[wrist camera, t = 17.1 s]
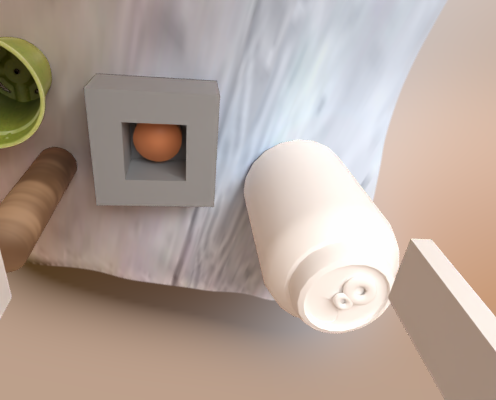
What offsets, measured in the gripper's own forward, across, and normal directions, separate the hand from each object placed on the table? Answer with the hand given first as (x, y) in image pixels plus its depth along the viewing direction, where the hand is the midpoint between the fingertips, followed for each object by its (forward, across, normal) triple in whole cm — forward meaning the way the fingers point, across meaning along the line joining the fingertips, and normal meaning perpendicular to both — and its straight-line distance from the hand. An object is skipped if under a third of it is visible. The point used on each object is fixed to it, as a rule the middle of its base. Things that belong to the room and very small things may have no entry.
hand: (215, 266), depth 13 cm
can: (+32, +12, -14) cm, 37 cm away
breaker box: (+32, -4, -8) cm, 34 cm away
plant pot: (+32, -18, -3) cm, 37 cm away
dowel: (+32, -15, -13) cm, 38 cm away
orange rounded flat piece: (+32, -4, -9) cm, 33 cm away
